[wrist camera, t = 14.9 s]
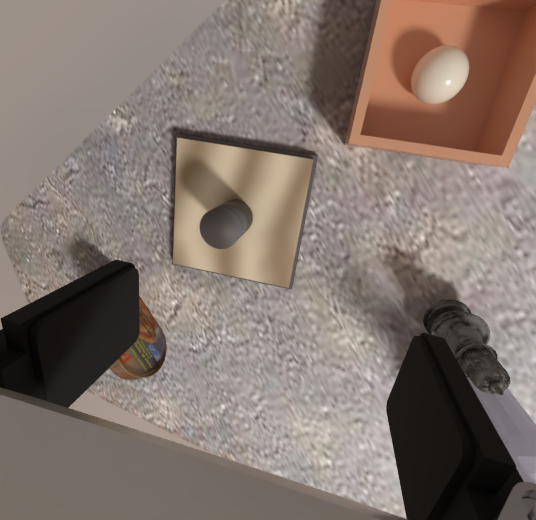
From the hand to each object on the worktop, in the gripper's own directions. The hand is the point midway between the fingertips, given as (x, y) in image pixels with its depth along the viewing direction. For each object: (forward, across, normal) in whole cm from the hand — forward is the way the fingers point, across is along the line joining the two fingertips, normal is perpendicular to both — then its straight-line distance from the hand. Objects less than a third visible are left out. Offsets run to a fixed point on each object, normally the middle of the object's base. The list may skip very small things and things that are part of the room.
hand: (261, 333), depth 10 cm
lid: (+25, +8, +3) cm, 27 cm away
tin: (+26, +22, +20) cm, 39 cm away
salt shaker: (+27, -18, +11) cm, 34 cm away
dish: (+27, -8, -13) cm, 31 cm away
